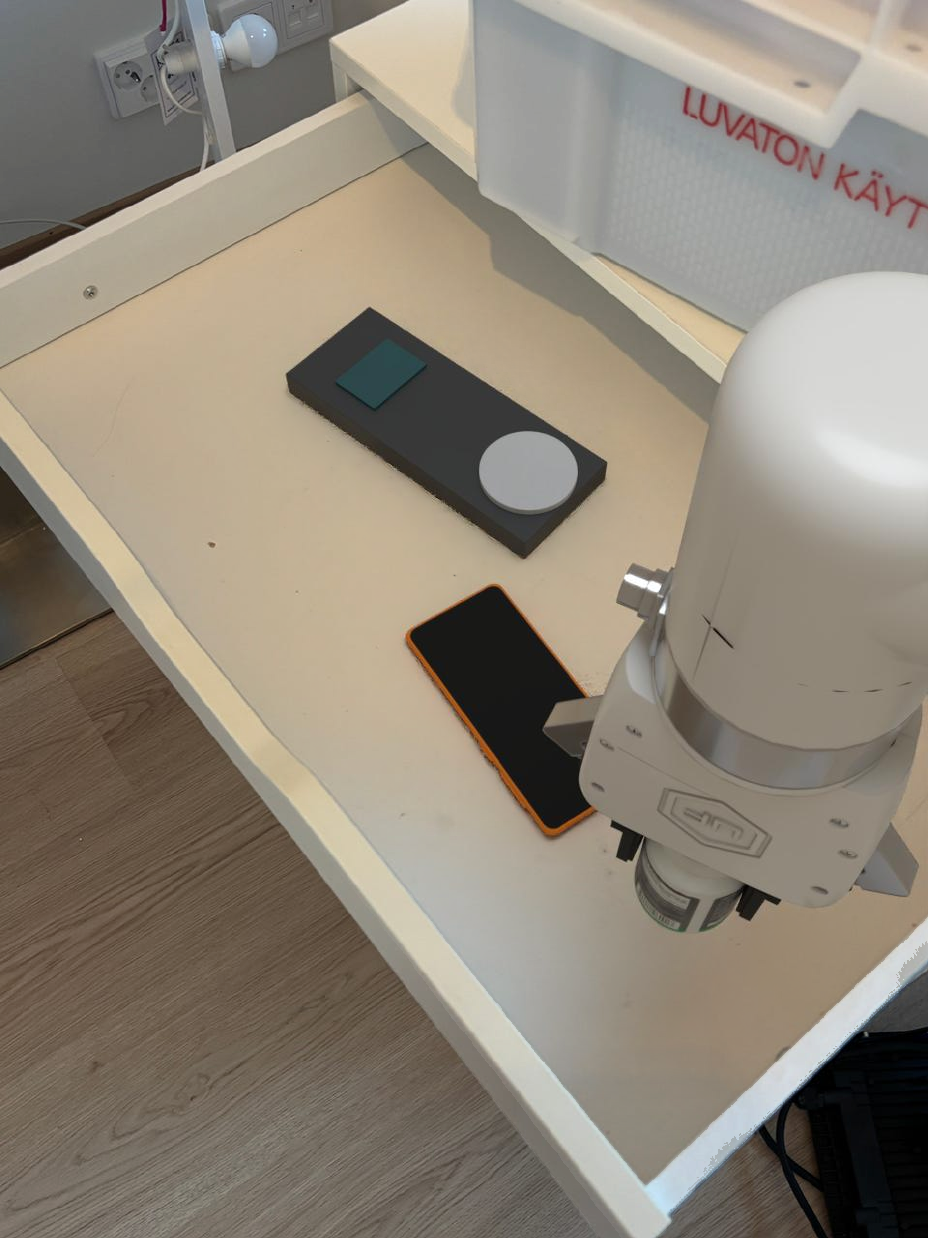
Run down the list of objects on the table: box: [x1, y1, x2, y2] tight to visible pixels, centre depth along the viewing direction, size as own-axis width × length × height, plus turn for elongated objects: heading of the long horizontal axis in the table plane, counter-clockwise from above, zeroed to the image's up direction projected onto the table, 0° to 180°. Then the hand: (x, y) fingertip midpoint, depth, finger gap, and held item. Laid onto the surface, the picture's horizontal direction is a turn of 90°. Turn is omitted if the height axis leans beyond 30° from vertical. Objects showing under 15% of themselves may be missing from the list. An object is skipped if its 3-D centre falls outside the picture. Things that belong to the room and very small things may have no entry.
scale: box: [285, 306, 609, 559], centre depth 82 cm, size 23×9×3 cm, turn 49°
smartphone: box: [405, 583, 597, 837], centre depth 72 cm, size 8×17×1 cm, turn 33°
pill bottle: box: [633, 836, 747, 935], centre depth 49 cm, size 5×5×8 cm
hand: (695, 857), depth 49 cm, fingers closed on pill bottle, 4 cm apart
